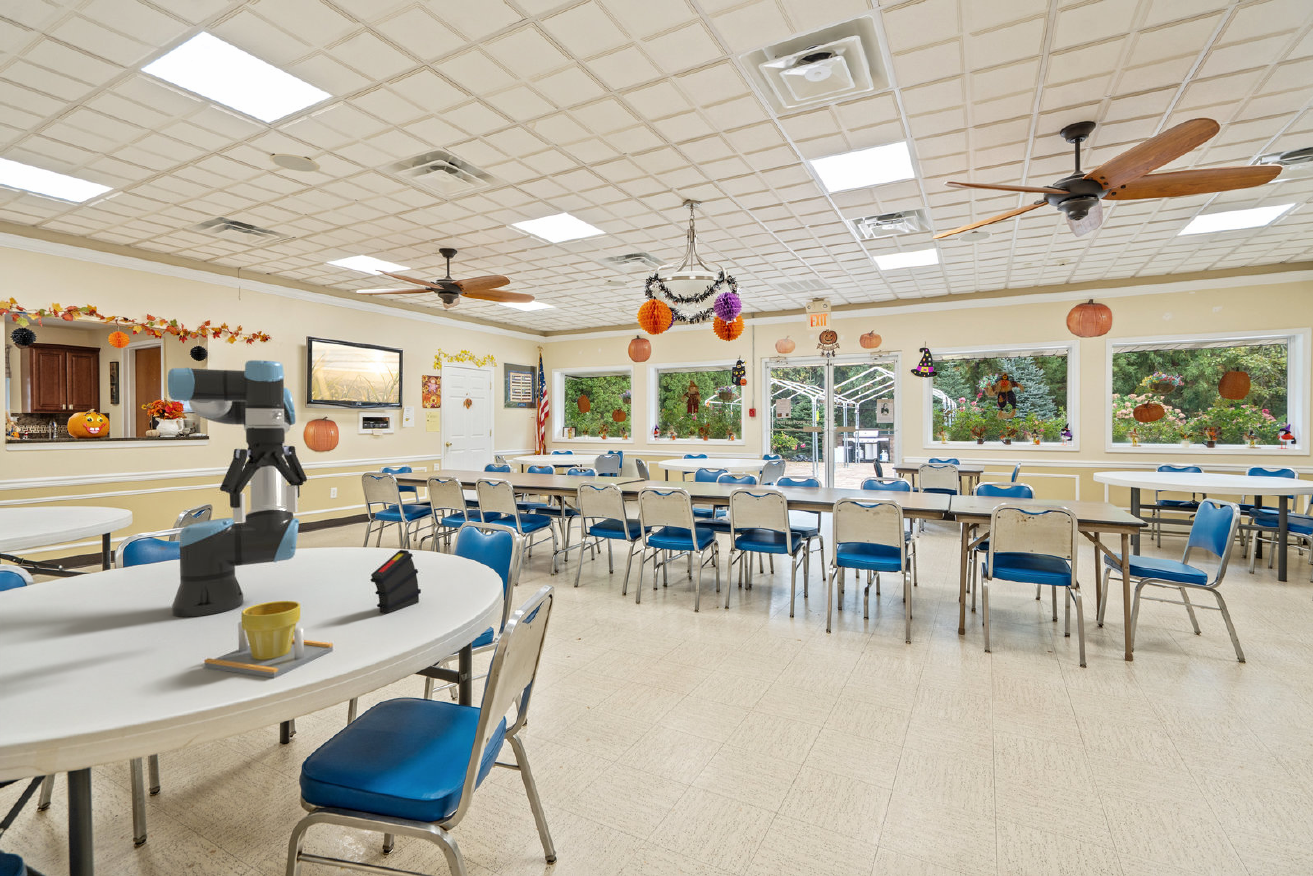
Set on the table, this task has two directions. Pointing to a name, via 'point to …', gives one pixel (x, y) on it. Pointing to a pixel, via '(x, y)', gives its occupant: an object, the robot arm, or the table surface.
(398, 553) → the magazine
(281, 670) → the tray
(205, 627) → the table surface
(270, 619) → the plant pot
